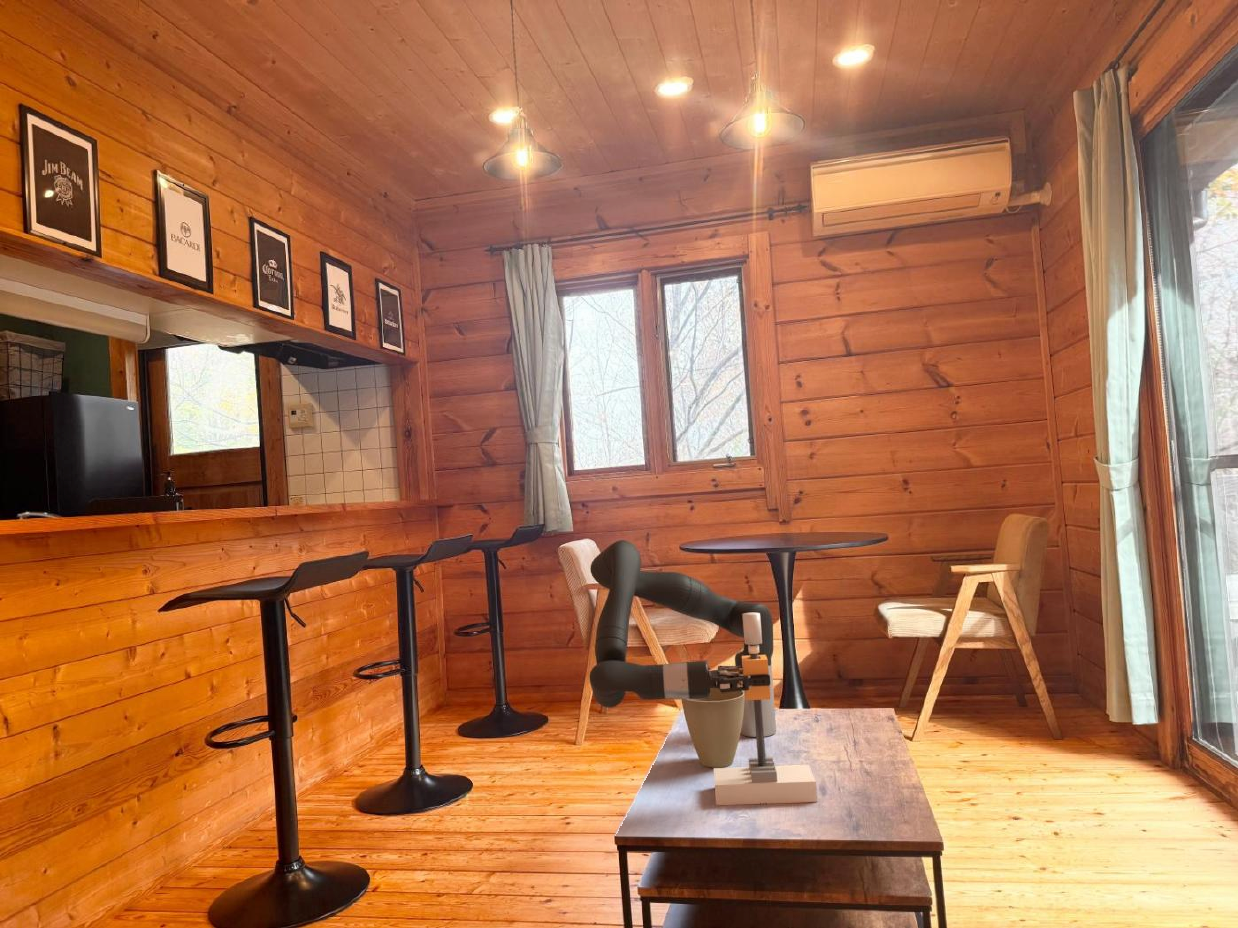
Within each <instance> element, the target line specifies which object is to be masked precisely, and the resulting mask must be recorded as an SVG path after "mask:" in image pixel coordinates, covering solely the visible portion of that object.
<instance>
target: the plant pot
mask: <svg viewBox="0 0 1238 928" xmlns="http://www.w3.org/2000/svg"><path fill="white" fill-rule="evenodd" d="M680 700H681V704H682V709H683V715H684V719H685V722H686V726H687V729H688V732H689V733H688V734H689V737H690V738H691V741H692V744H693V747H694V750H695V752H696V755H697V757H698V760H699V762H700V764H701V765H702V766H703V767H704V766H705V767H708V768H726V767H729V766H731V765H732V764H733V763H734V760H735V756H736V753H737V749H738V745H739V742H740V738H741V737H740V736H741V733H740V732H741V727H742V720H743V712H744V700H745V695H744V691H734V692H725V693H721V692H720V690H719V689H717V688H711V689H710V697H709V698H702V699H680Z"/></svg>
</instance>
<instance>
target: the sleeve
mask: <svg viewBox="0 0 1238 928" xmlns="http://www.w3.org/2000/svg"><path fill="white" fill-rule="evenodd" d="M742 669H743V674H744V675H747V674H749V675H758V674H769V671H768V659H767V657H766V655H758V659H751V658H750V655H749V656H742ZM744 695H745V699H746V700H764V699H771V698H770V685H769V686H752V687H751V688H749V690H747V691H746V690H744Z"/></svg>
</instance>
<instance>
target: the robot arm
mask: <svg viewBox="0 0 1238 928" xmlns="http://www.w3.org/2000/svg"><path fill="white" fill-rule="evenodd" d="M641 568H642V557H641V554H640V551H639V550H638V548H637V547H636V546H635V545H634V544H633V543H632V542H630V541H628V540H625V539H620V540H616V541H615V542H613V543H611V544H610V545H609V546H607V547H606V548H604V550H602V551H601V552H600V553H599V554H598V555H597V556H595V558H594V559H593V560H592V562H591V564H590V573H591V577H592V578H593V579H594V581H596V582H597V583H598V585H600V586H602V587H604V588H606V589H607V590H608V594H607V597H606V600H605V602H604V605H603V607H602V610H601V612H600V614H599V617H598V622H597V624H596V625H597V626H596V630H595V631H596V632H595V642H594V654H595V660H596V661H595V663H596V664H595V665H594V666H593V667H592V669H591V670H590V672H589V676H588V677H589V684H590V687H591V691H592V694H593V697H594V700H595V701H596V702H597V704H599V705H600V706H601V707H604V708H607V709H611V708H615V707H617V706H619V705H620V703H622V702H623V700H624V699H625V697H626V692H629V693H634V694H636V695H637V696H638V698H640V699H642V700H677V701H678V700H681V699H702V698H709V697H710V689H711V688H717V689H719V690H720V692H721V693H725V692H734V691H744V690H746V691H747V690H749V688H751V687H752V686H769V685H770V698H771V699H764V700H761V701H762V715H763V729H764V738H765V737H769V736H773V735H775V734H776V733H777V720H776V708H775V707H776V706H775V696H774V683H773V682H774V680H773V668H772V667H773V666H772V656H773V653H774V623H773V615H772V613H771V611H770V609H769V607H768V606H767V605H765V604H762V603H758V602H751V601H742V600H736V599H733V598H729V597H726V596H723V595H721V594H718V593H716V592H715V591H714V590H712V588H710V587H709V586H708V585H707V584H705V583H704V582H702V581H701V580H698V579H697V578H695V577H692V576H689V575H687V574H684V573H682V572H675V571H643V570H641ZM634 597H636V598H640V599H643V600H645V601H649V602H651V603H654V604H657V605H659V606H663V607H665V608H667V609H669V610H671V611H674V612H675V613H680V614H681V615H684V616H688V617H690V618H694V619H698V620H702V621H707V622H710V623H712V624H714V625H716V626H718V627H720V628H721V629H724V630H725V631H726V632H729V633H731V634H732V635H734V636H737V637H740V638H743V639H744V628H743V614H744V613H752V612H755V613H760V620H761V634H762V643H761V644H757V645H759V653H758V655H766V657H767V659H768V671H769V674H758V675H749V674H747V675H744V674H743V669H742V656H749V655H750V653H749V650H748V644H745V642H744V641H743V650H742V651H738V652H737V653H736V654H735V655H734V665H719V666H717V669H713V670H712V669H711V670H710V669H709V662H708V661H706V660H701V661H677V662H670V663H665V664H663V663H662V664H660V663H659V664H647V665H643V664H640V663H639V664H638V663H633V662H630V661H629V662H627V660H626V659H627V651H628V639H629V629H630V628H629V626H630V617H631V611H632V607H633V606H632V605H633V603H634ZM740 735H742V736H745V737H748V738H749V737H750V738H756V727H755V713H754V700H746V699H745V700H744V712H743V720H742V727H741V732H740Z"/></svg>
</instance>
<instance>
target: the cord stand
mask: <svg viewBox="0 0 1238 928" xmlns="http://www.w3.org/2000/svg"><path fill="white" fill-rule="evenodd" d="M743 628H744V638H743V643H744V642H745V644H748V650H749V653H750V658H751V659H758V653H759V645H757V644H761V643H762V634H761V620H760V613H755V612H752V613H744V614H743ZM754 713H755V727H756V737H755V738H756V740H755V741H756V751H757V752H756V753H757V757H749V758H748V766H742V767H741V766H740V767H717V768H716V767H713V779H714V780H713V781H714V793H715V795H714V796H715V806H733V805H735V806H737V804H738V805H754V804H755V805H761V804H762V805H763V803H764V804H765V803H767V804H787V803H789V804H791V803H792V804H793V803H796V804H797V803H818V796H817V794H818V793H817V781H816V779H815V776H814V775H813V772H812V769H811V767H810V764H797V765H795V764H794V765H791V764H790V765H775V761H774V758H773V756H771V757H767V756H766V746H765V737H764V729H763V715H762V701H761V700H754ZM760 803H761V804H760Z"/></svg>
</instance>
